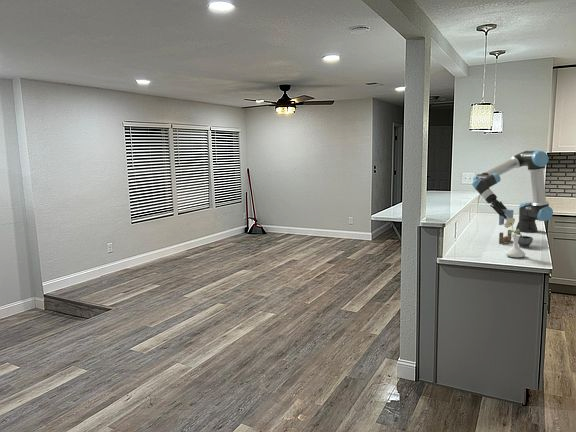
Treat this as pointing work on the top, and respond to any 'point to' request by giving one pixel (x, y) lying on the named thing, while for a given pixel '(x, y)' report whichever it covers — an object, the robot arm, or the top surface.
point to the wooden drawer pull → (504, 238)
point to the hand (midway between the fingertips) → (511, 221)
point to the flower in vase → (515, 250)
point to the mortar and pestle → (524, 241)
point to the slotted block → (507, 212)
